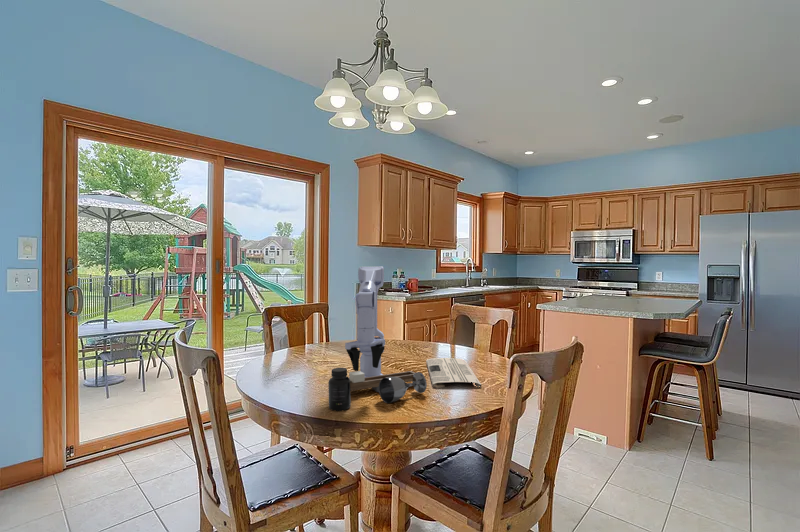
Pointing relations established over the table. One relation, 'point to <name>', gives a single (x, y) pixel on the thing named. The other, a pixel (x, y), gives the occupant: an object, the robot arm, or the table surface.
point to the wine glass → (400, 387)
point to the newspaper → (450, 371)
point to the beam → (375, 380)
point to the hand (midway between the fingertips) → (365, 368)
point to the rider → (356, 376)
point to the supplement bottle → (339, 390)
